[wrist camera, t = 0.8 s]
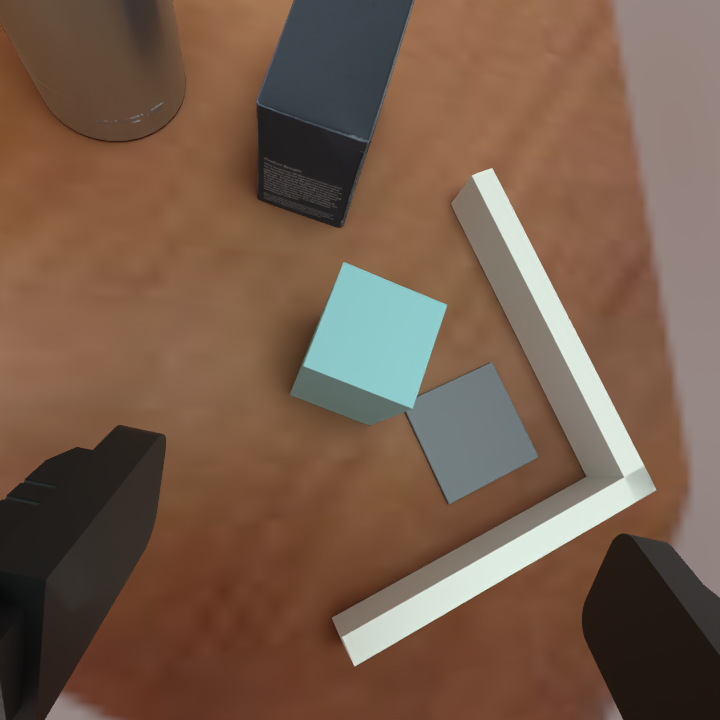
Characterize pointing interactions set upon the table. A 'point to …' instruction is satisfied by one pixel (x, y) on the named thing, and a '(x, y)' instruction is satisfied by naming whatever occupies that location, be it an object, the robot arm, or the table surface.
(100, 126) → the robot arm
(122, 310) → the table surface
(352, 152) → the small box
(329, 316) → the teal block
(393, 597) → the white l-shaped bracket
